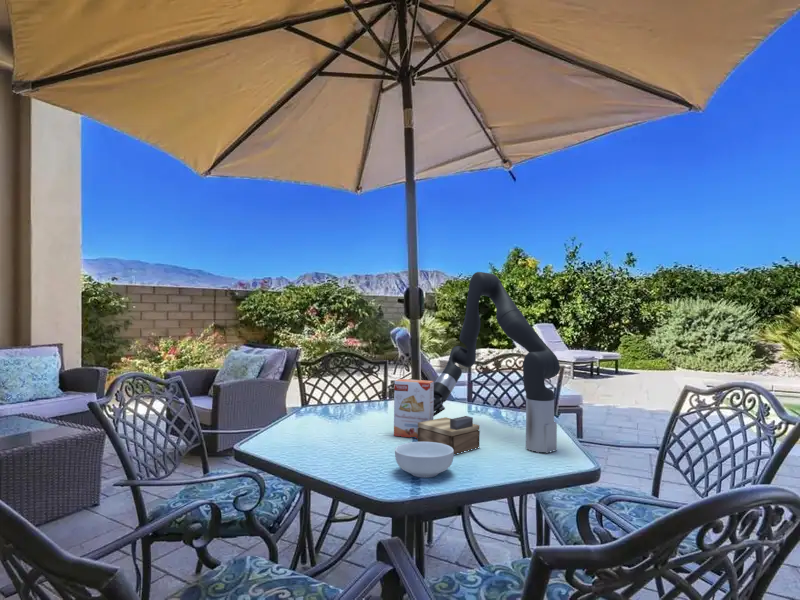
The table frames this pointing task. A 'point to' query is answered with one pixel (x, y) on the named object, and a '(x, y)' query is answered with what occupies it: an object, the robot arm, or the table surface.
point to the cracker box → (412, 405)
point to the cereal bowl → (424, 458)
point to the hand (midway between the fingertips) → (420, 422)
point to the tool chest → (451, 439)
